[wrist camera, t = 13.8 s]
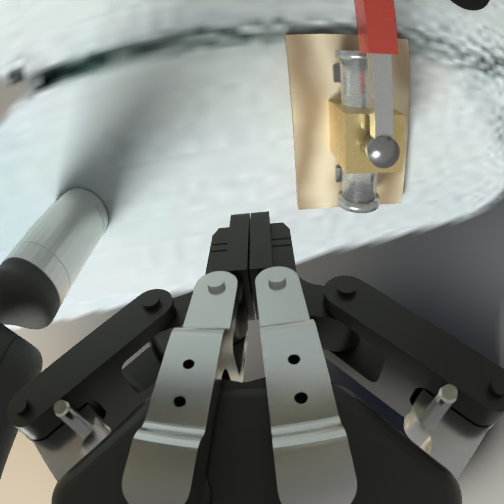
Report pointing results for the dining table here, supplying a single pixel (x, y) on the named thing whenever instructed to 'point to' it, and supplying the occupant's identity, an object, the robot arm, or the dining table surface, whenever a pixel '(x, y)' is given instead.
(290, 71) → the mounting board
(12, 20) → the dining table surface
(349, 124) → the valve
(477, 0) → the wine glass
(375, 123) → the lever
